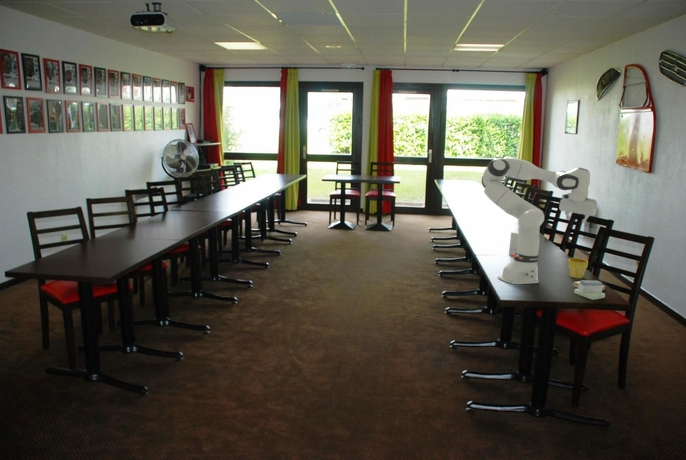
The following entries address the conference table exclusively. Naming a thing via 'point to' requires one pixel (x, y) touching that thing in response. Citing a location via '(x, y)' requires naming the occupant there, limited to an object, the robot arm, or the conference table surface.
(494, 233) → the conference table surface
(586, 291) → the housing
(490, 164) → the robot arm
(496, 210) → the conference table surface
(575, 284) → the stand
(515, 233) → the supplement box
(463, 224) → the conference table surface
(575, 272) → the plant pot
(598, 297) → the stand
